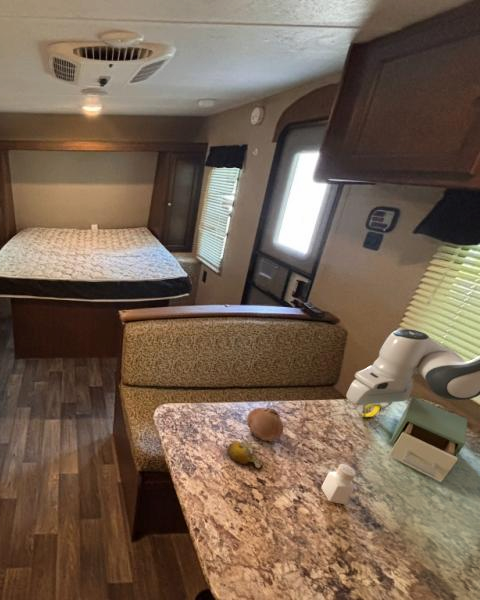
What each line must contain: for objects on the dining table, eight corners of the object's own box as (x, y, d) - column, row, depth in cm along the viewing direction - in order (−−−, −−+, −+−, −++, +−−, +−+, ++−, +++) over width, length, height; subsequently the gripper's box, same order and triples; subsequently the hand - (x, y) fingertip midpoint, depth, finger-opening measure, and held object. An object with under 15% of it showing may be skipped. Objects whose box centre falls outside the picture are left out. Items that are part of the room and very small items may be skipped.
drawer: (439, 493, 79) (456, 470, 76) (385, 464, 87) (398, 442, 83) (445, 456, 90) (461, 434, 87) (397, 432, 97) (409, 412, 94)
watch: (364, 420, 103) (371, 406, 101) (355, 413, 106) (363, 400, 103) (378, 418, 104) (386, 404, 102) (370, 411, 107) (377, 398, 104)
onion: (261, 434, 99) (277, 407, 98) (280, 453, 90) (297, 423, 89) (235, 423, 99) (250, 395, 98) (251, 440, 90) (268, 410, 88)
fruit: (264, 470, 84) (268, 460, 83) (233, 468, 84) (237, 459, 83) (250, 444, 92) (253, 435, 90) (221, 443, 92) (224, 434, 90)
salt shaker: (328, 502, 77) (343, 475, 73) (319, 487, 80) (333, 461, 77) (346, 505, 76) (362, 478, 72) (336, 489, 80) (351, 463, 76)
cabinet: (445, 470, 87) (464, 444, 82) (389, 443, 95) (405, 417, 91) (449, 444, 95) (467, 419, 91) (398, 421, 103) (412, 397, 99)
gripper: (404, 369, 103) (385, 401, 109) (351, 372, 100) (335, 406, 105) (426, 381, 97) (405, 415, 103) (371, 385, 94) (352, 420, 100)
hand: (369, 411), depth 104 cm, fingers closed on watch, 6 cm apart
